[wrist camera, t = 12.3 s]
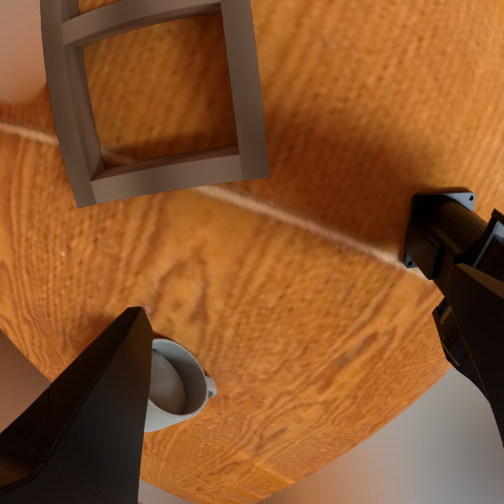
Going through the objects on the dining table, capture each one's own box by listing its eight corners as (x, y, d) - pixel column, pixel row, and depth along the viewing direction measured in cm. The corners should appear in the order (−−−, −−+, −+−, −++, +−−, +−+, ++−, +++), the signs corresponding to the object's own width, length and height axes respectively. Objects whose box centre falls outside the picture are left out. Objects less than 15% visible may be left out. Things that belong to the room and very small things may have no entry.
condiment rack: (229, -117, 8) (229, -135, 5) (265, 165, 19) (269, 177, 17) (61, -71, 8) (45, -81, 6) (92, 193, 19) (77, 208, 17)
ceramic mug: (108, 361, 28) (92, 423, 22) (144, 322, 26) (127, 395, 19) (189, 400, 33) (186, 458, 26) (235, 370, 30) (238, 437, 23)
